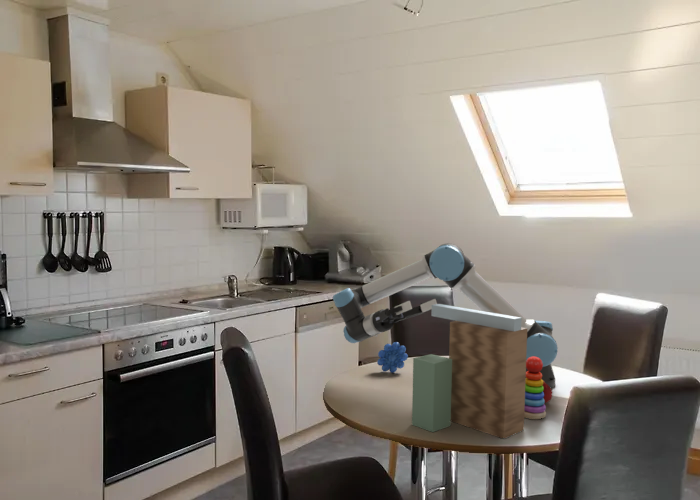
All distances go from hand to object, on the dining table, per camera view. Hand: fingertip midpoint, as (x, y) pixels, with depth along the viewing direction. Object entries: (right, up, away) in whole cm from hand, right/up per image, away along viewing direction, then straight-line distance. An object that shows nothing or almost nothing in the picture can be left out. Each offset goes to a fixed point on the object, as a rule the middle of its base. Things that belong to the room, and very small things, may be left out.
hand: (423, 303), depth 212 cm
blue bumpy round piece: (-8, -29, +35) cm, 46 cm away
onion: (+39, -33, -2) cm, 51 cm away
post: (0, -34, -22) cm, 41 cm away
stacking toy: (+32, -34, -13) cm, 49 cm away
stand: (+16, -34, -22) cm, 43 cm away
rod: (+13, -4, -20) cm, 24 cm away
